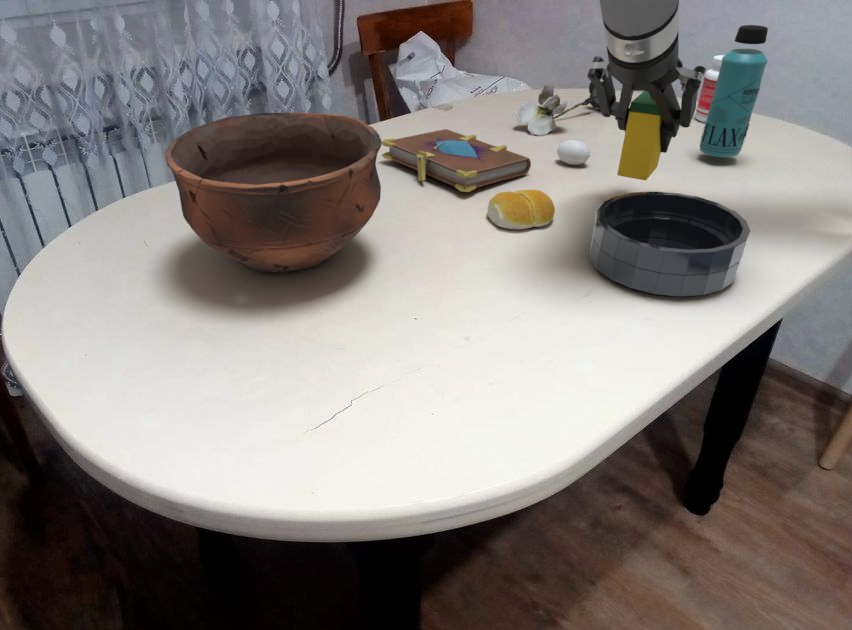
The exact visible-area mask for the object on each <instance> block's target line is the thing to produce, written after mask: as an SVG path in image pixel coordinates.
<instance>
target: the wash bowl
mask: <svg viewBox="0 0 852 630" xmlns="http://www.w3.org/2000/svg"><path fill="white" fill-rule="evenodd" d="M592 229H593V231H592V236H591V242H590V247H589V261H590V262H591V263H592V265H593V266H594V268H595V269H596V270H597V271H598V272H600V273H601V274H602V275H604V276H605V277H607V278H608V279H609V280H611V281H612V282H615V283H618V284H620V285H622V286H624V287H627V288H629V289H633V290H637V291H641V292H645V293H648V294H652V295H659V296H668V297H669V296H670V297H694V296H696V297H697V296H704V295H709V294H711V293H716V292H720V291H722V290H724V289H725V288H727V287H728V286H730V285H732V284H733V283H734V281H735V279H736V276H737V274H738V272H739V268H740V265H741V262H742V259H743V257H744V252H745V249H746V247H747V243H748V240H749V237H750V234H751V228H750V226H749V223H748V221H747V219H745V218H744V217H743V216H741V215H740V214H739V213H738V212H737V211H735V210H733V209H731V208H730V207H727V206H725V205H723V204H721V203H719V202H716V201H713V200H709V199H706V198H703V197H700V196H696V195H688V194H684V193H679V192H668V191H666V192H665V191H637V192H629V193H625V194H619V195H615V196H613V197H611V198H608V199H607V200H605V201H603V202H602V203H601V204H600V205H599V207H598V208H597V209H596V211H595V218H594V224H593V228H592Z"/></svg>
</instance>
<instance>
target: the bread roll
mask: <svg viewBox="0 0 852 630" xmlns="http://www.w3.org/2000/svg"><path fill="white" fill-rule="evenodd" d="M486 210H487V211H486V215H487V217H488V218H489V220H490V221H491V222H492V224H494V225H496V226H498V227H499V228H503V229H508V230H526V229H530V228H533V227H535V228H540V227H544V226H547V225H548V224H550V223H551V222H552V220H553V219H554V217H555V213H556V211H555V210H556V208H555V204H554V201H553V200H552V199H551V197H550V196H549V195H548V194H547V193H545V192H543V191H542V190H540V189H539V190H538V189H521V190H516V191H501V192H498V193H496V194H495V195H494V196H493V197H491V198H490V200H489V202H488V205H487V209H486Z"/></svg>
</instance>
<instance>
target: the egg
mask: <svg viewBox="0 0 852 630" xmlns="http://www.w3.org/2000/svg"><path fill="white" fill-rule="evenodd" d="M556 154H557V156H558V158H559V160H560V161H562V162H563V163H565V164H567V165H572V166H579V165H582V164H584V163H586V162H587V161H588V160H589V159H590V157H591V150H590V148H589V146H588V145H587V144H586V143H584V142H583V141H580V140H577V139H569V140H565V141H563V142H561V143H560V144H559V145H558V147H557V148H556Z"/></svg>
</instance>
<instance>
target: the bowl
mask: <svg viewBox="0 0 852 630" xmlns="http://www.w3.org/2000/svg"><path fill="white" fill-rule="evenodd" d="M381 141H382V138H381V136H380V135H379V133H378V131H377V130H376V129H375V128H374V127H373V126H371V125H369V124H367V122H366V121H364V120H363V119H361V118H360V119H359V118H358V117H354V116H349V115H346V114H338V113H336V114H334V113H316V112H315V113H312V112H261V113H253V114H252V113H250V114H244V115H243V114H242V115H235V116H227V117H222V118H219V119H215V120H213V121H211V122H208V123H204V124H202V125H199V126H197V127H194V128H192V129H190V130H188V131H186V132H184V133H182V134H181V135H179V136H178V137H176V138H175V139H174V140H173V141H171V142H170V144H169V145H168V147H167V148H166V149H165V155H164V158H165V161H166V165H167V167H168V168H169V169H170V170H171V173H172V176H173V178H174V180H175V181H174V182H175V184H176V186H177V190H178V195H179V201H180V206H181V212H182V216H183V219H184V220H185V221H186V223H187V224H188V225H189V227H190V229H191V230H192V231H193V232H194V233H195V234H196V236H198V238H199V239H200V240H201V241H203V243H205V244H206V245H207V246H208V247H210V248H212V249H213V250H214V251H216V252H217V253H219V254H221V255H222V256H224V257H227V258H229V259H231V260H234V261H235V262H237V263H238V264H242V265H245V266H247V268H250V269H252V270H254V271H256V272H262V273H278V274H280V273H281V274H282V273H289V272H294V271H295V272H296V271H301V270H306V269H310V268H313V267H316V266H318V265H320V264H322V263H324V262H325V261H327V260H328V259H329V258H330V257H332V256H333V255H335V254H336V253H337V252H339V250H341V249H343V248H344V247H345V246H346V245H347V244H348V243H349V242H351V241H352V240H353V239H354V238H355V237H356V236H357V235H358V234H359V233H360V232H361V231H362V229H363V228H365V226H366V225H367V224H368V222H369V221H370V219H371V218H372V217H373V215H374V213H375V211H376V210H377V207H378V205H379V203H380V200H381V195H382V194H381V193H382V192H381V191H382V185H381V181H380V177H379V173H378V170H377V169H378V168H377V157H378V153H379V151H380V149H381V147H382V144H381Z"/></svg>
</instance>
